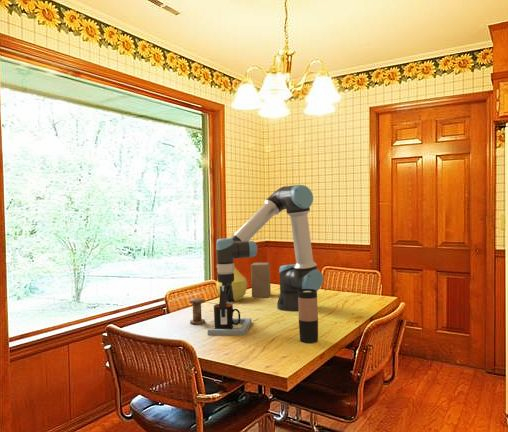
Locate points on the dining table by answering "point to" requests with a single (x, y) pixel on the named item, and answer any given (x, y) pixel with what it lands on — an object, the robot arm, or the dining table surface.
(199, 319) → the bobbin post
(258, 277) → the wooden block
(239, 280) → the vase
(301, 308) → the travel mug
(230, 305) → the mug
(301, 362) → the dining table surface
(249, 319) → the notch board
